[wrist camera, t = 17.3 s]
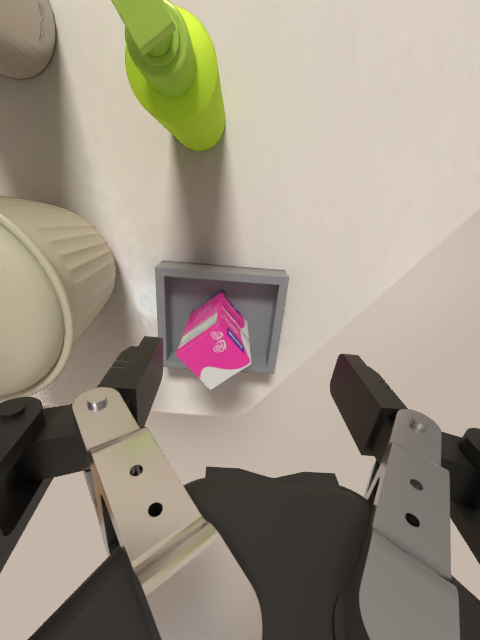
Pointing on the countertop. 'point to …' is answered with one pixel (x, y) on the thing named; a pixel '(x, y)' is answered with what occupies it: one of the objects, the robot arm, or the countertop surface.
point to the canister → (46, 290)
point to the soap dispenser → (173, 70)
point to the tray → (243, 291)
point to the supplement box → (215, 341)
